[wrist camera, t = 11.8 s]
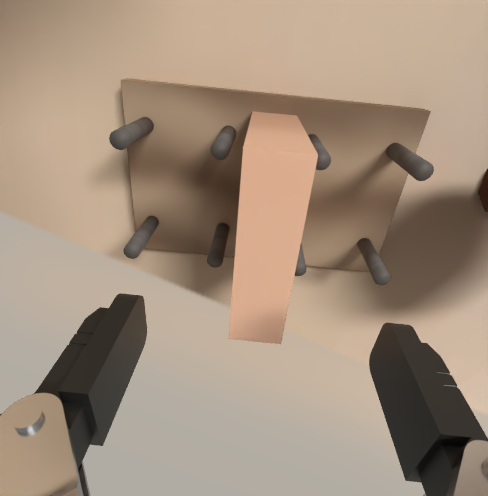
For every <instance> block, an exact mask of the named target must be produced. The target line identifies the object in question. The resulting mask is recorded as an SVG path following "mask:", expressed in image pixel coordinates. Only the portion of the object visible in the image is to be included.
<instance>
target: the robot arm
mask: <svg viewBox="0 0 488 496" xmlns="http://www.w3.org/2000/svg"><path fill="white" fill-rule="evenodd" d="M146 334H147V325H146V315H145V305H144V299H143V296H139V295H129V294H118V295H117V296H116V298H115V299H114V301H113V302H112V304H111V306H110V307H109V308H99V309H97V310H96V311H95V312H94V313H92V314H91V315H90V316H88V317H87V318H86V319H85V320H84V322H83V323H82V325H81V326H80V328H79V329H78V331H77V334H75V335H74V337H73V338H72V340H71V341H70V344H69V345H67V347H66V348H65V350H64V351H63V353H62V354H61V356H60V357H59V359H58V360H57V362H56V363H55V364H54V366H53V367H52V369H51V370H50V372H49V373H48V375H47V376H46V378H45V379H44V381H43V382H42V384H41V385H40V387H39V388H38V389H37V391H36V392H35V393H34V394H32V395H29V396H26V397H24V398H22V399H20V400H18V401H17V402H15V403H14V404H12V405H11V406H10V407H9V408H7V409H6V410H5V411H4V412H3V413H2V414H0V496H90V492H89V488H88V483H87V478H86V474H85V470H84V465H83V461H82V460H83V458H84V456H85V454H86V452H87V449H88V447H89V445H90V444H91V445H100V446H103V443H104V441H105V439H106V436H107V434H108V432H109V429H110V427H111V424H112V422H113V420H114V417H115V415H116V412H117V410H118V407H119V405H120V403H121V400H122V398H123V396H124V393H125V391H126V388H127V386H128V384H129V381H130V379H131V376H132V374H133V372H134V369H135V367H136V364H137V362H138V359H139V357H140V355H141V352H142V350H143V348H144V345H145V341H146ZM369 366H370V372H371V375H372V378H373V381H374V384H375V388H376V391H377V394H378V397H379V400H380V403H381V406H382V409H383V412H384V415H385V418H386V422H387V425H388V428H389V430H390V434H391V437H392V440H393V443H394V446H395V449H396V452H397V455H398V459H399V462H400V465H401V468H402V470H403V474H404V477H405V480H406V481H414V482H422V485H423V488H424V490H425V494H424V495H423V496H488V438H487V437H486V435H485V433H484V431H483V430H482V428H481V426H480V424H479V423H478V421H477V419H476V417H475V416H474V414H473V412H472V410H471V409H470V407H469V405H468V403H467V402H466V400H465V398H464V396H463V395H462V393H461V391H460V389H458V388H457V384H456V382H455V381H454V379H453V377H452V376H451V375H450V372H449V370H448V368H447V367H446V365H445V363H444V361H443V360H442V358H441V357H440V356H439V355H438V354H437V353H436V352H435V351H434V350H433V349H432V348H431V347H430V346H429V345H428V344H427V343H421V341H420V340H419V338H418V336H417V334H416V332H415V330H414V329H413V327H412V326H410V325H404V324H394V323H385V324H384V325H383V326H382V329H381V331H380V333H379V335H378V338H377V340H376V342H375V345H374V347H373V349H372V352H371V354H370V360H369Z"/></svg>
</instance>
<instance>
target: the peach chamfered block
mask: <svg viewBox="0 0 488 496" xmlns="http://www.w3.org/2000/svg"><path fill="white" fill-rule="evenodd" d="M317 159H318V154H317V152H316V150H315V148H314V146H313V144H312V142H311V141H310V139H309V137H308V135H307V133H306V131H305V129H304V128H303V126H302V124H301V122H300V120H299V118H298V116H296V115H286V114H275V113H264V112H254V111H252V115H251V119H250V123H249V127H248V131H247V135H246V138H245V142H244V146H243V155H242V168H241V181H240V195H239V208H238V221H237V234H236V247H235V260H234V273H233V287H232V300H231V313H230V326H229V339H236V340H246V341H256V342H266V343H275V344H281V341H282V336H283V331H284V326H285V321H286V316H287V311H288V306H289V301H290V296H291V291H292V286H293V281H294V276H295V270H296V265H297V260H298V255H299V250H300V245H301V240H302V235H303V230H304V225H305V220H306V215H307V209H308V204H309V199H310V194H311V189H312V184H313V179H314V174H315V169H316V164H317Z"/></svg>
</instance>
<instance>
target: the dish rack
mask: <svg viewBox="0 0 488 496" xmlns="http://www.w3.org/2000/svg"><path fill="white" fill-rule="evenodd" d="M121 88H122V99H123V109H124V119H125V126H123V127H121V128H119V129H117V130H115V131H113V132H112V133H111V134H110V138H109V139H110V143H111V144H112V146H113V147H114V148H116V149H119V150H123V149H125V148H127V149H128V159H129V169H130V179H131V189H132V199H133V210H134V220H135V230H136V233H135V234H134V236H133V237H132V238H131V240H130V241H129V242H128V244H127V245H126V246H125V248H124V254H125V255H126V256H127V257H129V258H132V259H134V258H137V257H138V256H139V254H140V253H141V251H142V250H143V248H147V249H157V250H166V251H176V252H185V253H195V254H204V255H208V258H207V263H208V264H209V265H210V266H212V267H219V266H221V264H222V262H223V257H232V258H235V247H236V234H237V221H238V208H239V195H240V181H241V168H242V155H243V146H244V142H245V138H246V135H247V131H248V127H249V123H250V119H251V115H252V111H254V112H264V113H275V114H286V115H296V116H298V118H299V120H300V122H301V124H302V126H303V128H304V129H305V131H306V133H307V135H308V137H309V139H310V141H311V142H312V144H313V146H314V148H315V150H316V152H317V154H318V159H317V164H316V169H315V174H314V179H313V184H312V189H311V194H310V199H309V204H308V209H307V215H306V220H305V225H304V230H303V235H302V240H301V245H300V250H299V255H298V260H297V265H296V270H295V276H301V275H303V274H305V272H306V265H308V266H318V267H327V268H336V269H346V270H355V271H365V272H370V273H371V275H372V277H373V279H374V281H375V283H377V284H379V285H384V284H386V283H388V282H389V281H390V279H391V276H390V274H389V272H388V271H387V269H386V267H385V265H384V264H383V262H382V260H381V258H380V257H379V254H380V251H381V248H382V245H383V243H384V240H385V237H386V234H387V231H388V229H389V226H390V223H391V220H392V218H393V215H394V212H395V209H396V206H397V204H398V201H399V198H400V195H401V192H402V190H403V187H404V184H405V181H406V179H407V176H408V173H409V174H410V175H411V176H413V177H414V178H415V179H416V180H418V181H424V180H426V179H428V178H429V177H430V176H431V175H432V174H433V171H434V168H433V165H432V164H431V163H429V162H428V161H426V160H424V159H423V158H421V157H420V156H418V155H417V154H415V153H416V151H417V148H418V145H419V142H420V140H421V137H422V134H423V131H424V128H425V126H426V123H427V120H428V117H429V115H430V112H431V111H428V110H425V109H420V108H410V107H401V106H391V105H381V104H371V103H361V102H351V101H342V100H332V99H322V98H312V97H302V96H293V95H283V94H273V93H263V92H253V91H243V90H234V89H224V88H214V87H204V86H194V85H185V84H175V83H165V82H155V81H145V80H135V79H123V80H121Z"/></svg>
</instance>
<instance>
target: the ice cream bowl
mask: <svg viewBox="0 0 488 496" xmlns="http://www.w3.org/2000/svg"><path fill="white" fill-rule="evenodd" d="M478 194H479V196H480V199H481V202H482V204H483V207H484V209H485V211H486V212H488V170H487V172H486V175H485V177H484V180H483V182H482V185H481V187H480V190H479V192H478Z"/></svg>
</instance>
